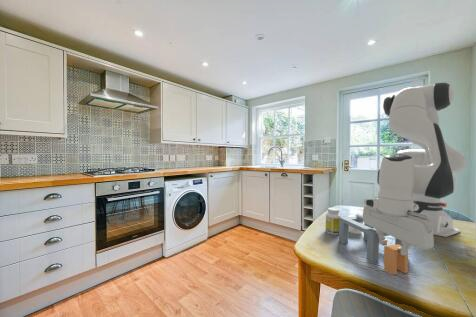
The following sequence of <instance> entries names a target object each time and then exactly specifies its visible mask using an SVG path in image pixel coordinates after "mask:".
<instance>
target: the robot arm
mask: <svg viewBox="0 0 476 317" xmlns="http://www.w3.org/2000/svg"><path fill="white" fill-rule="evenodd" d="M454 96H455V92H454V90H453V87H452V86H451V85H450V84H449V83H448V82H436V83H435V84H426V85H425V84H424V85H419V86H416V87H415V86H414V87H406V88H403V89H401V90H400V91H398V92H393V93H391V94H389V95H387V96H386V97H385V98H384V100H383V105H382V108H383V111H384V112H383V113H384V114H385V115H386V116H388V127H389V129H390V131H391V132H392V133H394V134H395V135H396V136H398V137H399V138H400V137H401V138H403V139H408V141H409V142H411V143H412V144H413V145H416V146H418V147H420V148H422V149H418V148H416V149H415V148H414V149H413V148H412V149H411V148H410V149H404V150H403V149H402V150H398V151H397V152H396V153H394V154H393V153H392V154H387V155H385V156H383V157H382V159H381V163H380V167H379V169H378V170H377V176H376V177H377V178H376V181H377V182H376V183H377V185H379V191H378V192H377V197H372V198H365V199H364V201H363V204H364V206H363V210H362V215H363V225H364V224H366V225H368V226H370V227H372V228H374V229H376V233H377V235H378V237H379V245H382V246H388V241H389V240H388V239H387V238H386V236H384V233H386V234H388V235H390V237H393V238H394V239H396V238H397V239H399V240H401V244H403V246H402V247H399V248H398V249H397V250H398V251H397V252H398V253H399V254H401V255H403V256H404V255H406V254H407V250H408V249H410V248H411V247H414V248H417V249H419V250H423V251H425V250H430V249H432V248H433V247H434V245H435V238H434V236H438V237H439V236H440V237H445V238H447V237H450V236H453V235H455V234H458V233H460V232H461V229H459V228H457V227H454V219H453V218H452V217H451V216H450V215H449V214H448V213H446V211H444V208H446V207H447V202H442V201H441V199H442V198H446V197H448V196H450V195H452V194H453V193H454V191H455V188H456V177H455V175H454V174H457V173H460V172H462V171H463V170H464V169H465V168H466V165H467V157H466V156H465V154H463V152H461V151H460V150H458V149H455V148H453V147H452V146H451V145H449V144H448V143H447V142H446V141H445V140H444V137H443V133H442V130H441V126H440V119H439V113H438V112H439V111H441V110H444V109H447V108H448V107H449V106H450V105H451V104H452V102H453V100H454ZM408 251H409V250H408Z"/></svg>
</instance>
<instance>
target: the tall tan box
mask: <svg viewBox="0 0 476 317" xmlns="http://www.w3.org/2000/svg"><path fill="white" fill-rule="evenodd" d="M399 247H402V246H401V245H398V244H397V245H395V244H392V245H391V244H390V245H383V270H384V271H386V272H387V273H389V274H391V275H393V276H396V275H397V273H398V272H397V270H398V271H400V272H402V273H404V274H408V272H409V271H408V270H409V263H408V262H409V256H408V255H409V253H408V252H409V250H407V254H406V255H404V256H403V255H401V254H399V253H398V252H397V251H398V250H397V249H398V248H399Z"/></svg>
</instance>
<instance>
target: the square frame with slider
mask: <svg viewBox="0 0 476 317" xmlns="http://www.w3.org/2000/svg"><path fill="white" fill-rule="evenodd" d="M355 215H356V216H351V217H347V216H341V217H340V218H339V235H338V242H340V244H341V243H342V244H348V243H349V231H348V228H349V226H351V227H353V228H355V229H357V230H359V231H362V233H363V239H364V240H366V259H367V260H369V261H370V262H372V263H373V262H374V263H375V262H379V252H380V251H379V250H380V249H379V248H380V243H379V237H378V235H377V233H376V229H375V228H372V227H370V226H368V225H366V224H364V222H363V214H360V213H356V214H355ZM359 222H363V224H361V223H359ZM384 236H385V237H388V236H390V235H388V234H386V233H384ZM390 237H391V236H390ZM397 244H398V245H401V246H403V244H401V240H399V239H397V238H395V244H394V245H397Z"/></svg>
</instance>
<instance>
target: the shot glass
mask: <svg viewBox="0 0 476 317" xmlns="http://www.w3.org/2000/svg"><path fill="white" fill-rule="evenodd" d="M351 216H356V214H347V215H346V217H351ZM359 223H361V224H363V225H364V222H359ZM348 233H351V234H355V235H361V234H362V233H363V232H362V231H359V230H357V229H355V228H353V227H351V226H349V228H348Z"/></svg>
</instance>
